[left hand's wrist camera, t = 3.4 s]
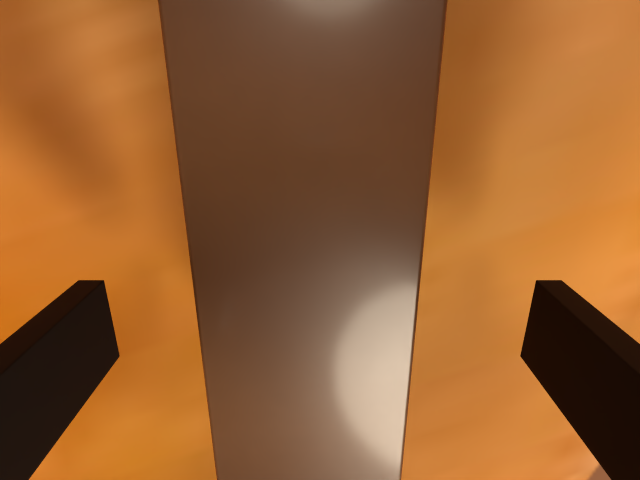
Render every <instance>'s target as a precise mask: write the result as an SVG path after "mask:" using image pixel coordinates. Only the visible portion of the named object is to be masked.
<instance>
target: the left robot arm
mask: <svg viewBox="0 0 640 480" xmlns="http://www.w3.org/2000/svg"><path fill="white" fill-rule="evenodd" d="M118 358H119V351H118V346H117V341H116V337H115V332H114V327H113V322H112V317H111V312H110V308H109V303H108V298H107V293H106V288H105V284H104V280H78V281H77V282H76V283H75V284H74V285H72V286H71V287H70V288H69V289H67V290H66V291H65V292H64V293H62V294H61V295H60V296H59V297H58V298H56V299H55V300H54V301H53V302H51V303H50V304H49V305H48V306H46V307H45V308H44V309H43V310H42V311H40V312H39V313H38V314H37V315H35V316H34V317H33V318H32V319H31V320H29V321H28V322H27V323H26V324H24V325H23V326H22V327H21V328H19V329H18V330H17V331H16V332H15V333H13V334H12V335H11V336H10V337H8V338H7V339H6V340H5V341H3V342H2V343H1V344H0V480H29V478H30V477H31V476H32V474H33V473H34V472H35V470H36V469H37V468H38V466H39V465H40V464H41V462H42V461H43V459H44V458H45V457H46V455H47V454H48V453H49V451H50V450H51V449H52V447H53V446H54V445H55V443H56V442H57V440H58V439H59V438H60V436H61V435H62V434H63V432H64V431H65V430H66V428H67V427H68V426H69V424H70V423H71V421H72V420H73V419H74V417H75V416H76V415H77V413H78V412H79V411H80V409H81V408H82V406H83V405H84V404H85V402H86V401H87V400H88V398H89V397H90V396H91V394H92V393H93V392H94V390H95V389H96V387H97V386H98V385H99V383H100V382H101V381H102V379H103V378H104V377H105V375H106V374H107V373H108V371H109V370H110V368H111V367H112V366H113V364H114V363H115V362H116V360H117V359H118ZM521 358H522V359H523V360H524V362H525V363H526V364H527V366H528V367H529V368H530V370H531V371H532V373H533V374H534V375H535V377H536V378H537V379H538V381H539V382H540V383H541V385H542V386H543V387H544V389H545V390H546V392H547V393H548V394H549V396H550V397H551V398H552V400H553V401H554V402H555V404H556V405H557V406H558V408H559V409H560V411H561V412H562V413H563V415H564V416H565V417H566V419H567V420H568V421H569V423H570V424H571V426H572V427H573V428H574V430H575V431H576V432H577V434H578V435H579V436H580V438H581V439H582V440H583V442H584V443H585V445H586V446H587V447H588V449H589V450H590V451H591V453H592V454H593V455H594V457H595V458H596V459H597V461H598V462H599V464H600V465H601V466H602V468H603V469H604V470H605V472H606V473H607V474H608V476H609V477H610V478H611V480H640V344H639V343H638V342H637V341H635V340H634V339H633V338H632V337H630V336H629V335H628V334H627V333H625V332H624V331H623V330H622V329H621V328H619V327H618V326H617V325H616V324H614V323H613V322H612V321H611V320H609V319H608V318H607V317H606V316H605V315H603V314H602V313H601V312H600V311H598V310H597V309H596V308H595V307H594V306H592V305H591V304H590V303H589V302H587V301H586V300H585V299H584V298H582V297H581V296H580V295H579V294H578V293H576V292H575V291H574V290H573V289H571V288H570V287H569V286H568V285H566V284H565V283H564V282H563V281H562V280H536V284H535V288H534V293H533V298H532V303H531V308H530V312H529V317H528V322H527V327H526V332H525V337H524V341H523V346H522V351H521Z"/></svg>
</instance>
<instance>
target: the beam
mask: <svg viewBox="0 0 640 480" xmlns="http://www.w3.org/2000/svg"><path fill="white" fill-rule="evenodd" d="M158 3H159V12H160V20H161V28H162V36H163V44H164V52H165V60H166V69H167V77H168V85H169V93H170V101H171V109H172V117H173V125H174V134H175V142H176V150H177V158H178V166H179V174H180V182H181V190H182V199H183V207H184V215H185V223H186V231H187V239H188V247H189V256H190V264H191V272H192V280H193V288H194V296H195V304H196V312H197V321H198V329H199V337H200V345H201V353H202V361H203V369H204V378H205V386H206V394H207V402H208V410H209V418H210V426H211V434H212V443H213V451H214V459H215V467H216V475H217V480H401V474H402V464H403V454H404V443H405V433H406V423H407V412H408V402H409V392H410V381H411V371H412V361H413V350H414V340H415V330H416V319H417V309H418V299H419V288H420V278H421V268H422V257H423V247H424V237H425V226H426V216H427V206H428V195H429V185H430V175H431V164H432V154H433V144H434V133H435V123H436V113H437V102H438V92H439V82H440V71H441V61H442V51H443V40H444V30H445V20H446V9H447V0H158Z"/></svg>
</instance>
